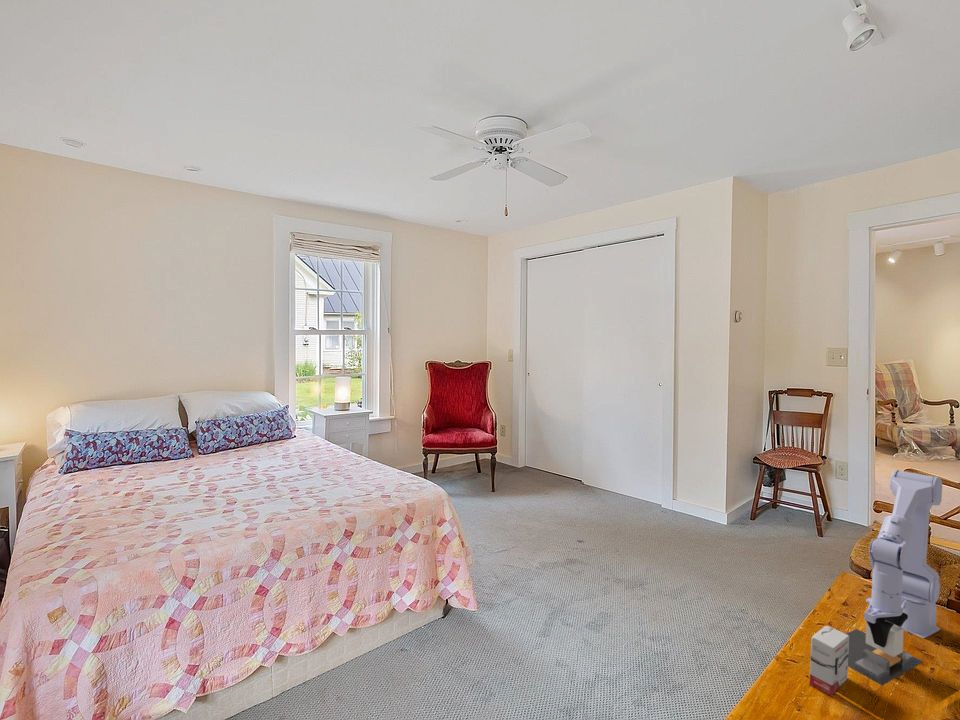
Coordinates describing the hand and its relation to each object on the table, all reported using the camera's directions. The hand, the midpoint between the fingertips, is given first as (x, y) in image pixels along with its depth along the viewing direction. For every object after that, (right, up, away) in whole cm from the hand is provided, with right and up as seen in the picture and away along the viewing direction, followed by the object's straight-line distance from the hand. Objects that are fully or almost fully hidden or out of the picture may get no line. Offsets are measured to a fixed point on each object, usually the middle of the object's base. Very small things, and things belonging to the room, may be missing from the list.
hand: (884, 642), depth 124 cm
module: (0, -2, 0) cm, 2 cm away
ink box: (-17, -7, -5) cm, 19 cm away
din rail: (-2, -6, +4) cm, 7 cm away
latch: (0, -4, 0) cm, 4 cm away
